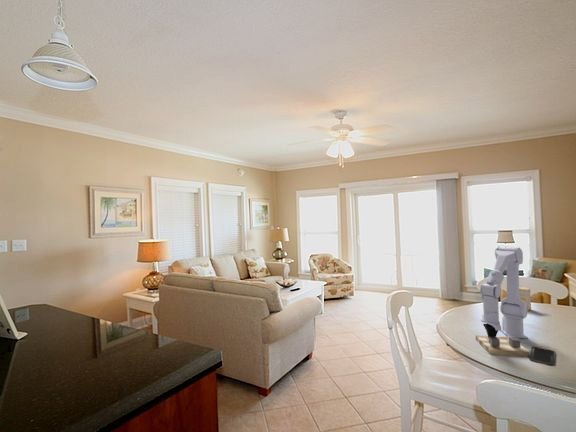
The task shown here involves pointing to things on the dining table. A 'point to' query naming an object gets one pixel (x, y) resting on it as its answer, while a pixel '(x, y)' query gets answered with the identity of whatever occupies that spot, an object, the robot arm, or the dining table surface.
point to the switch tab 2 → (514, 342)
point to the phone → (542, 356)
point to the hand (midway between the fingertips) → (491, 340)
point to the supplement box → (525, 296)
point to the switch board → (502, 346)
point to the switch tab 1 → (494, 341)
